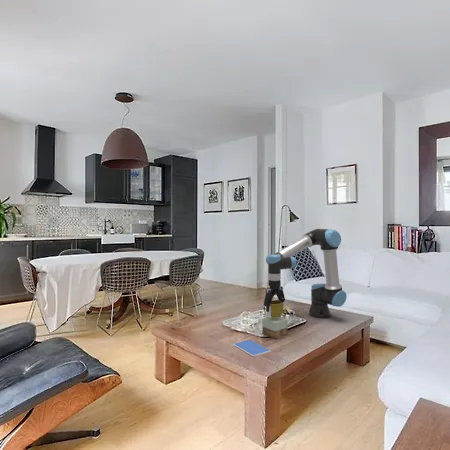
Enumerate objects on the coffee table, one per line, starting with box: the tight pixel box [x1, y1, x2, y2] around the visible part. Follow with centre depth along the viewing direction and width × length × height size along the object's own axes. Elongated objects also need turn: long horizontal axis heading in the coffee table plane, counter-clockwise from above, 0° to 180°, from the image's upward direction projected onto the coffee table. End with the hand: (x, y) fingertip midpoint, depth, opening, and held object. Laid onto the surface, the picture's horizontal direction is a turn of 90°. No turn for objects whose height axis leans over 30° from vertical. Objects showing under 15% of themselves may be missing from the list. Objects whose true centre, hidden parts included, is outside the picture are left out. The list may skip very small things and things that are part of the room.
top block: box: [261, 316, 288, 331], centre depth 202 cm, size 11×11×5 cm
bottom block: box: [262, 327, 289, 340], centre depth 203 cm, size 11×11×5 cm
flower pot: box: [270, 299, 285, 318], centre depth 202 cm, size 9×9×9 cm
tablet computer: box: [233, 339, 271, 358], centre depth 182 cm, size 19×13×1 cm, turn 32°
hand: (274, 314), depth 202 cm, fingers closed on flower pot, 11 cm apart
